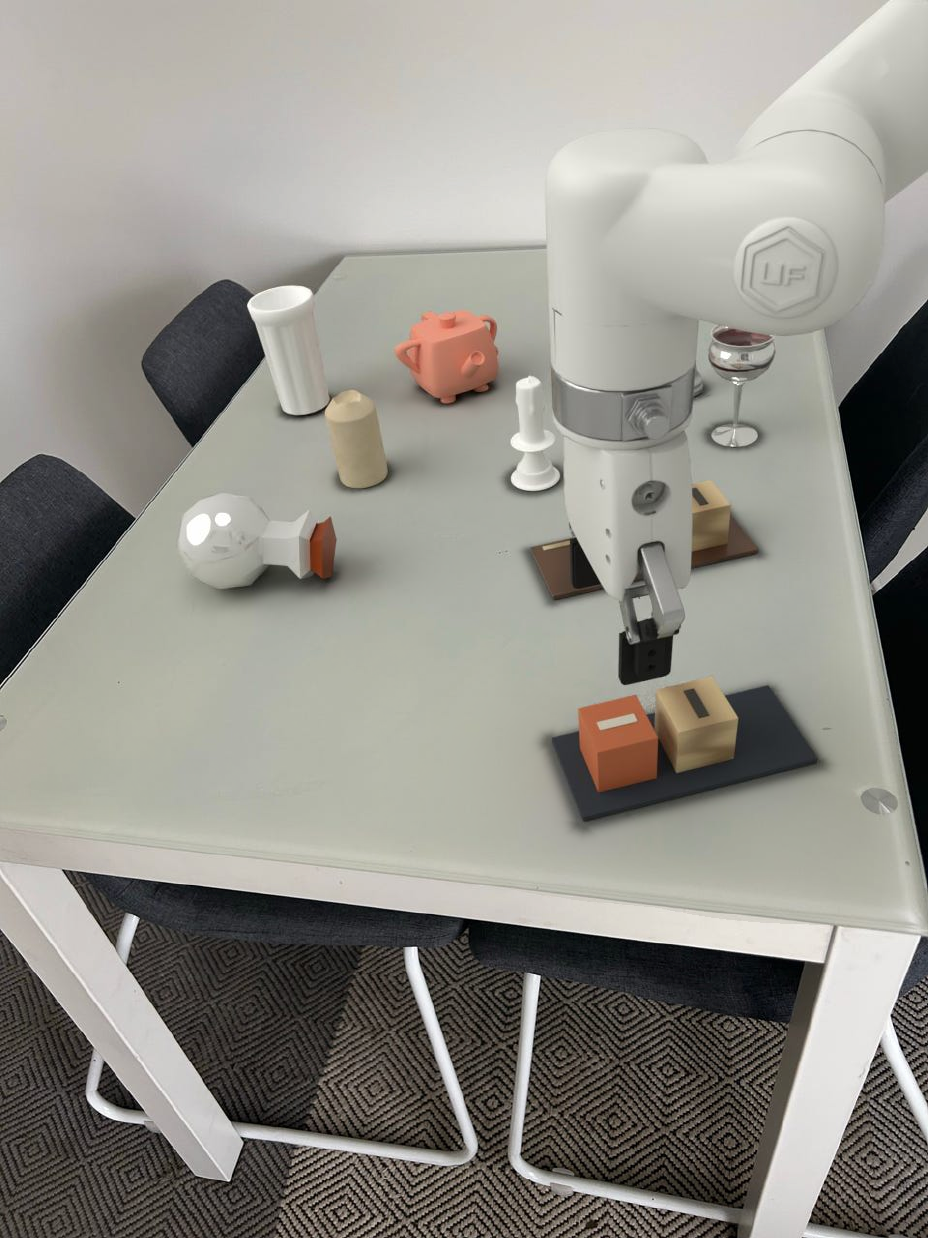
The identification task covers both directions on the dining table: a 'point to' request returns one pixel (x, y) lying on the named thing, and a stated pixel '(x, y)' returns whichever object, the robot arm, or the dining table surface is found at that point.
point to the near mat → (758, 752)
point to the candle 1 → (356, 439)
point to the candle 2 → (532, 439)
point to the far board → (558, 575)
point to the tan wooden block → (709, 516)
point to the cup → (291, 347)
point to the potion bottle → (250, 542)
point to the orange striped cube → (618, 743)
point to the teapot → (451, 353)
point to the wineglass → (738, 373)
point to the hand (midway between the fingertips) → (617, 627)
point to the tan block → (695, 724)
